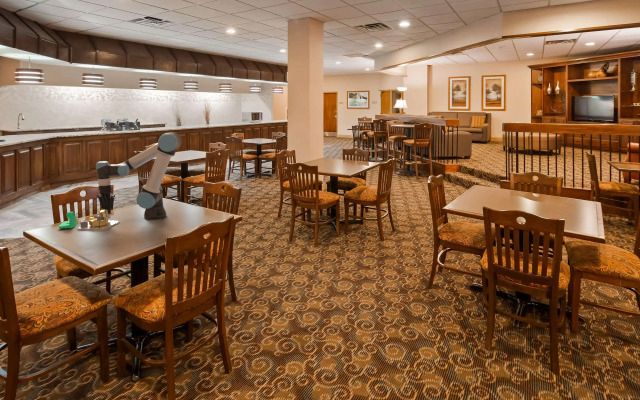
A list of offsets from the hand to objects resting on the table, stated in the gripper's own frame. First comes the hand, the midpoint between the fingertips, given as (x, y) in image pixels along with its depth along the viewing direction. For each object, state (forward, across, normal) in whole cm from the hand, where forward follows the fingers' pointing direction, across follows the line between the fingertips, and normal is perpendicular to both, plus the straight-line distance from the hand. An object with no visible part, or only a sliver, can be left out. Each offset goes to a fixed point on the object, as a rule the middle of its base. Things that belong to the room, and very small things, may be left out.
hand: (108, 218), depth 274 cm
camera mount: (+4, +19, +15) cm, 24 cm away
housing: (+3, +1, +8) cm, 9 cm away
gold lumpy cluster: (+1, +2, +6) cm, 6 cm away
